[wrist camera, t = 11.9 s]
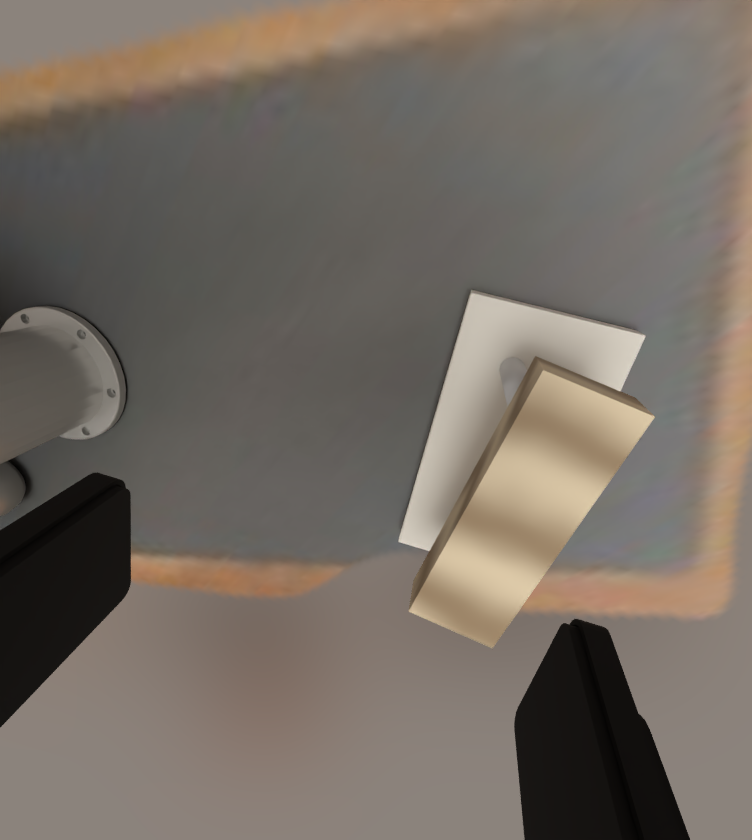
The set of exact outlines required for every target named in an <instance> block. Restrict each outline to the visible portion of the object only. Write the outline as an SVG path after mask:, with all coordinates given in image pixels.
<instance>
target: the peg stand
mask: <svg viewBox="0 0 752 840" xmlns="http://www.w3.org/2000/svg"><path fill="white" fill-rule="evenodd" d="M645 337H646V336H645V335H644V334H642V333H640V332H638V331H636V330H633V329H629V328H625V327H621V326H617V325H613V324H608V323H604V322H600V321H596V320H592V319H588V318H584V317H580V316H576V315H572V314H568V313H564V312H560V311H556V310H552V309H548V308H544V307H539V306H535V305H531V304H527V303H523V302H519V301H515V300H511V299H507V298H503V297H499V296H495V295H491V294H487V293H483V292H479V291H475V290H471V291H470V295H469V298H468V302H467V305H466V309H465V312H464V315H463V319H462V322H461V326H460V329H459V333H458V336H457V339H456V343H455V346H454V350H453V353H452V357H451V360H450V363H449V367H448V370H447V374H446V377H445V381H444V384H443V388H442V391H441V394H440V398H439V401H438V405H437V408H436V412H435V415H434V418H433V422H432V425H431V429H430V432H429V436H428V439H427V442H426V446H425V449H424V453H423V456H422V460H421V463H420V466H419V470H418V473H417V477H416V480H415V484H414V487H413V490H412V494H411V497H410V501H409V504H408V508H407V511H406V514H405V518H404V521H403V525H402V528H401V532H400V537H399V541H398V542H401V543H404V544H407V545H411V546H414V547H417V548H421V549H424V550H427V551H430V549H431V547H432V546H433V544H434V542H435V540H436V538H437V536H438V535H439V533H440V531H441V529H442V527H443V525H444V523H445V522H446V520H447V518H448V516H449V514H450V512H451V511H452V509H453V507H454V505H455V503H456V501H457V500H458V498H459V496H460V494H461V492H462V490H463V488H464V487H465V485H466V483H467V481H468V479H469V477H470V476H471V474H472V472H473V470H474V468H475V466H476V464H477V463H478V461H479V459H480V457H481V455H482V453H483V452H484V450H485V448H486V446H487V444H488V442H489V440H490V439H491V437H492V435H493V433H494V431H495V429H496V428H497V426H498V424H499V422H500V420H501V418H502V417H503V415H504V413H505V411H506V409H507V407H508V405H509V404H510V402H511V400H512V398H513V396H514V394H515V393H516V391H517V389H518V387H519V385H520V383H521V381H522V380H523V378H524V376H525V374H526V372H527V370H528V369H529V367H530V365H531V363H532V361H533V359H534V357H535V356H537V357H539V358H541V359H544V360H546V361H549V362H551V363H553V364H556V365H558V366H561V367H563V368H565V369H568V370H570V371H573V372H575V373H577V374H580V375H582V376H585V377H587V378H589V379H592V380H594V381H597V382H599V383H601V384H604V385H606V386H609V387H611V388H613V389H616V390H618V391H621V389H622V387H623V384H624V382H625V380H626V378H627V376H628V374H629V371H630V369H631V367H632V365H633V363H634V360H635V358H636V356H637V354H638V352H639V350H640V347H641V345H642V343H643V341H644V339H645Z"/></svg>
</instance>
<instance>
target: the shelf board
mask: <svg viewBox="0 0 752 840" xmlns="http://www.w3.org/2000/svg"><path fill="white" fill-rule="evenodd" d="M654 418H655V416H654V415H653V414H652V413H651V412H650V411H648V410H647V409H646V408H645V407H644V406H643V405H642V404H641V403H640V402H639V401H638V400H637V399H636V398H635V397H632V396H630V395H628V394H625V393H623V392H620V391H618V390H616V389H613V388H611V387H609V386H606V385H604V384H601V383H599V382H597V381H594V380H592V379H589V378H587V377H585V376H582V375H580V374H577V373H575V372H573V371H570V370H568V369H565V368H563V367H561V366H558V365H556V364H553V363H551V362H549V361H546V360H544V359H541V358H539V357H537V356H535V357H534V359H533V361H532V363H531V365H530V367H529V369H528V370H527V372H526V374H525V376H524V378H523V380H522V381H521V383H520V385H519V387H518V389H517V391H516V393H515V394H514V396H513V398H512V400H511V402H510V404H509V405H508V407H507V409H506V411H505V413H504V415H503V417H502V418H501V420H500V422H499V424H498V426H497V428H496V429H495V431H494V433H493V435H492V437H491V439H490V440H489V442H488V444H487V446H486V448H485V450H484V452H483V453H482V455H481V457H480V459H479V461H478V463H477V464H476V466H475V468H474V470H473V472H472V474H471V476H470V477H469V479H468V481H467V483H466V485H465V487H464V488H463V490H462V492H461V494H460V496H459V498H458V500H457V501H456V503H455V505H454V507H453V509H452V511H451V512H450V514H449V516H448V518H447V520H446V522H445V523H444V525H443V527H442V529H441V531H440V533H439V535H438V536H437V538H436V540H435V542H434V544H433V546H432V547H431V549H430V551H429V553H428V555H427V557H426V559H425V560H424V562H423V564H422V566H421V568H420V570H419V572H418V573H417V575H416V577H415V579H414V581H413V588H412V593H411V600H410V606H409V612H411V613H413V614H416V615H418V616H420V617H422V618H425V619H427V620H429V621H432V622H434V623H436V624H439V625H441V626H443V627H445V628H448V629H450V630H452V631H454V632H457V633H459V634H461V635H463V636H466V637H468V638H470V639H472V640H475V641H477V642H480V643H482V644H484V645H486V646H488V647H491V648H493V647H494V645H495V644H496V642H497V641H498V640H499V638H500V637H501V635H502V634H503V633H504V631H505V630H506V628H507V627H508V625H509V624H510V622H511V621H512V620H513V618H514V617H515V616H516V614H517V613H518V611H519V610H520V608H521V607H522V606H523V604H524V603H525V601H526V600H527V598H528V597H529V596H530V594H531V593H532V591H533V590H534V588H535V587H536V586H537V584H538V583H539V581H540V580H541V578H542V577H543V576H544V574H545V573H546V571H547V570H548V568H549V567H550V566H551V564H552V563H553V561H554V560H555V559H556V557H557V556H558V554H559V553H560V551H561V550H562V549H563V547H564V546H565V544H566V543H567V541H568V540H569V539H570V537H571V536H572V534H573V533H574V531H575V530H576V529H577V527H578V526H579V524H580V523H581V521H582V520H583V519H584V517H585V516H586V514H587V513H588V512H589V510H590V509H591V507H592V506H593V504H594V503H595V502H596V500H597V499H598V497H599V496H600V494H601V493H602V492H603V490H604V489H605V487H606V486H607V484H608V483H609V482H610V480H611V479H612V477H613V476H614V474H615V473H616V472H617V470H618V469H619V467H620V466H621V465H622V463H623V462H624V460H625V459H626V457H627V456H628V455H629V453H630V452H631V450H632V449H633V447H634V446H635V445H636V443H637V442H638V440H639V439H640V437H641V436H642V435H643V433H644V432H645V430H646V429H647V427H648V426H649V425H650V423H651V422H652V420H653V419H654Z"/></svg>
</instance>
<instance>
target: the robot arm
mask: <svg viewBox="0 0 752 840" xmlns="http://www.w3.org/2000/svg"><path fill="white" fill-rule="evenodd" d="M125 401H126V386H125V379H124V375H123V371H122V368H121V365H120V363H119V361H118V359H117V357H116V355H115V353H114V351H113V349H112V348H111V346H110V345H109V343H108V342H107V341H106V339H105V338H104V337H103V336H102V335H101V334H100V333H99V332H98V330H97V329H96V328H95V327H93V326H92V325H91V324H90V323H88V322H87V321H86V320H85V319H83V318H81V317H80V316H78V315H76V314H74V313H73V312H70V311H67V310H65V309H62V308H58V307H52V306H36V307H31V308H26V309H23V310H20V311H18V312H16V313H14V314H13V315H12V316H11V317H10V318H8V319H7V320H6V322H5V323H4V325H3V326H2V328H1V330H0V464H2V463H4V462H6V461H8V460H10V459H12V458H14V457H16V456H18V455H20V454H23V453H25V452H27V451H29V450H31V449H33V448H35V447H37V446H39V445H41V444H43V443H45V442H47V441H49V440H51V439H54V438H56V437H58V436H60V437H63V438H68V439H73V440H84V439H89V438H94V437H96V436H98V435H100V434H102V433H104V432H105V431H107V430H109V429H110V428H112V427H113V425H114V424H115V423H116V422H117V421H118V420H119V418H120V416H121V414H122V412H123V409H124V405H125ZM130 583H131V513H130V491H129V490H128V489H126V487H125V483H124V482H123V481H122V480H120V479H117V478H113V477H110V476H107V475H103V474H100V473H92V474H90V475H88V476H87V477H85V478H83V479H82V480H80V481H79V482H77V483H75V484H74V485H72V486H71V487H69V488H67V489H66V490H64V491H63V492H61V493H59V494H58V495H56V496H55V497H53V498H51V499H50V500H48V501H47V502H45V503H43V504H42V505H40V506H39V507H37V508H35V509H34V510H32V511H31V512H29V513H27V514H26V515H24V516H23V517H21V518H19V519H18V520H16V521H15V522H13V523H11V524H10V525H8V526H7V527H5V528H3V529H2V530H0V727H1V726H2V725H3V724H4V723H5V722H6V721H7V720H8V719H9V718H10V717H11V716H12V715H13V714H14V713H15V712H16V710H17V709H19V707H20V706H21V705H22V704H23V703H24V702H25V701H26V700H27V699H28V698H29V697H30V696H31V695H32V694H33V693H34V692H35V691H36V690H37V689H38V688H39V687H40V685H41V684H42V683H43V682H44V681H45V680H46V679H47V678H48V677H49V676H50V675H51V674H52V673H53V672H54V671H55V670H56V669H57V668H58V667H59V666H60V664H62V662H63V661H64V660H65V659H66V658H67V657H68V656H69V655H70V654H71V653H72V652H73V651H74V650H75V649H76V648H77V647H78V646H79V645H80V644H81V643H82V642H83V640H84V639H85V638H86V637H87V636H88V635H89V634H90V633H91V632H92V631H93V630H94V629H95V628H96V627H97V626H98V625H99V624H100V623H101V622H102V621H103V620H104V619H105V618H106V616H107V615H108V614H109V613H110V612H111V611H112V610H113V609H114V608H115V607H116V606H117V605H118V604H119V603H120V602H121V601H122V599H123V598H124V597H125V596H126V594H127V592H128V590H129V587H130ZM514 727H515V739H516V750H517V761H518V772H519V783H520V794H521V804H522V816H523V826H524V837H525V840H690V838H689V836H688V832H687V830H686V827H685V824H684V822H683V819H682V816H681V813H680V811H679V808H678V805H677V802H676V800H675V797H674V794H673V792H672V789H671V786H670V783H669V781H668V778H667V775H666V772H665V770H664V767H663V764H662V762H661V759H660V756H659V754H658V751H657V748H656V745H655V743H654V740H653V737H652V734H651V732H650V729H649V727H648V725H647V723H646V721H645V720H644V719H643V718H642V716H641V715H639V714H638V711H637V709H636V706H635V703H634V700H633V697H632V694H631V692H630V689H629V686H628V683H627V681H626V678H625V675H624V672H623V669H622V666H621V664H620V661H619V658H618V655H617V652H616V650H615V647H614V644H613V641H612V638H611V635H610V633H609V631H608V630H607V629H606V628H604V627H602V626H598V625H595V624H592V623H589V622H585V621H582V620H579V619H574V620H573V621H572V622H571V623H570V625H569V624H566V623H563V624H562V625H561V626H560V628H559V630H558V632H557V634H556V636H555V638H554V639H553V641H552V644H551V645H550V647H549V649H548V651H547V653H546V655H545V657H544V659H543V661H542V663H541V664H540V666H539V668H538V670H537V672H536V674H535V676H534V678H533V680H532V682H531V684H530V686H529V688H528V689H527V691H526V693H525V695H524V697H523V699H522V701H521V703H520V705H519V707H518V709H517V712H516V716H515V726H514Z"/></svg>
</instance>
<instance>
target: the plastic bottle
mask: <svg viewBox="0 0 752 840" xmlns="http://www.w3.org/2000/svg"><path fill="white" fill-rule="evenodd" d="M25 491H26V485H25V481H24V479H23V477H22V475H21V473H20V472H19V471H18V469H17V468H16V467H15V466H13V465H12V464H11V463H10V462H8V461H6V462H4V463H2V464H0V516H3V515H5V514H7V513H8V512H10V511H11V510H12V509H13V508H15V507H16V506H17V505H18V504H20V502H21V501H22V499H23V497H24V494H25Z"/></svg>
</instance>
